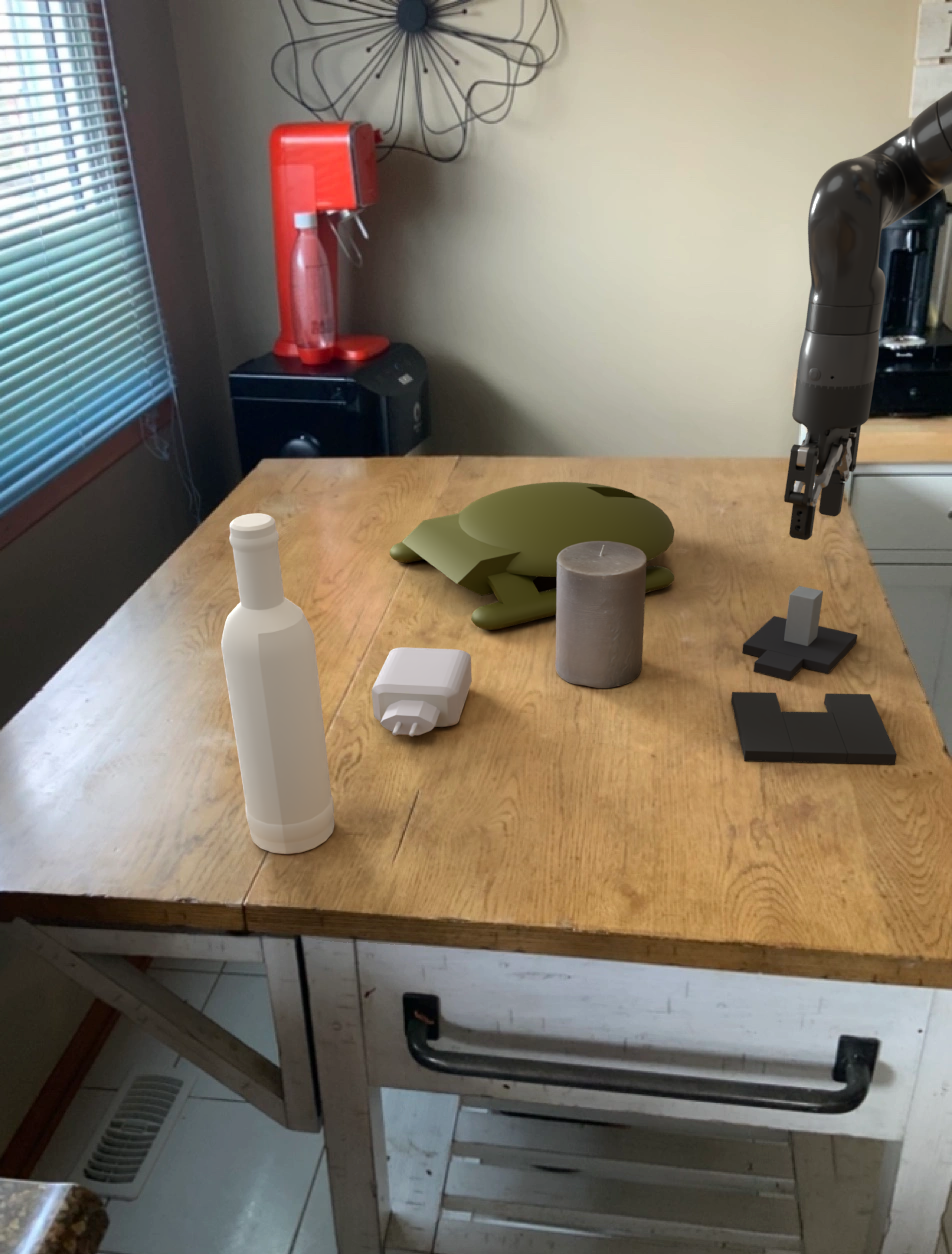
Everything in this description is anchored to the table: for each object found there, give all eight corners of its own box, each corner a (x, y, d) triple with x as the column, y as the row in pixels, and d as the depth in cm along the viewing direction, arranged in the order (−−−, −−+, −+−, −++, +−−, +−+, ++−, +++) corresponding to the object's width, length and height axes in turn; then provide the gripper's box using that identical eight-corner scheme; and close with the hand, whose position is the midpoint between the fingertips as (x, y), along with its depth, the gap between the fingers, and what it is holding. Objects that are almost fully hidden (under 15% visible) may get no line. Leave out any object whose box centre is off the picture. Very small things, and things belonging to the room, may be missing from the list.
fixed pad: (868, 703, 118) (870, 693, 118) (895, 764, 108) (897, 754, 107) (731, 701, 120) (732, 691, 120) (744, 761, 110) (745, 750, 109)
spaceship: (483, 638, 137) (481, 563, 132) (384, 558, 161) (379, 491, 157) (719, 579, 148) (725, 508, 143) (593, 512, 173) (595, 449, 168)
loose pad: (856, 643, 130) (865, 587, 127) (815, 687, 122) (824, 628, 118) (772, 624, 136) (779, 570, 132) (728, 665, 127) (734, 608, 124)
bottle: (333, 801, 108) (300, 499, 93) (338, 850, 101) (304, 532, 86) (249, 811, 107) (203, 508, 92) (249, 860, 100) (198, 542, 85)
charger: (360, 752, 115) (391, 684, 128) (449, 758, 113) (472, 687, 126) (356, 712, 113) (389, 646, 126) (447, 717, 111) (470, 649, 124)
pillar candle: (616, 644, 134) (621, 523, 126) (657, 679, 125) (664, 553, 118) (540, 660, 131) (541, 537, 124) (577, 696, 123) (580, 568, 116)
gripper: (847, 394, 108) (825, 553, 116) (896, 363, 118) (872, 512, 126) (772, 385, 112) (755, 540, 120) (824, 356, 122) (806, 501, 130)
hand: (815, 525), depth 123 cm, fingers open, 8 cm apart
